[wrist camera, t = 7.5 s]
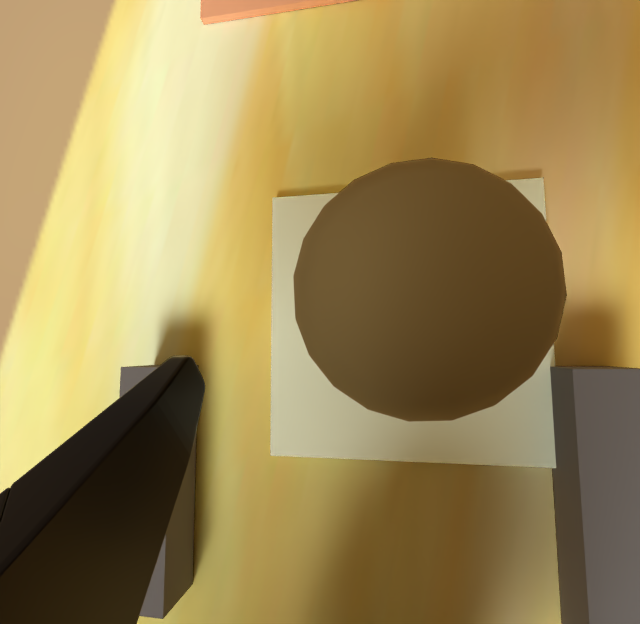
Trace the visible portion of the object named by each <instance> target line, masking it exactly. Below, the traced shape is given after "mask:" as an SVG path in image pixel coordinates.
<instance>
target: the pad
mask: <svg viewBox="0 0 640 624" xmlns="http://www.w3.org/2000/svg"><path fill="white" fill-rule="evenodd" d="M505 181H507V182H509V183H511V184H512V185H513V186H515V187H516V188H517V189H518V190H519V191H520V192H521V193H522V194H523V195H524V196H525V197H526V198H527V199H528V200H529V201H530V202H531V203H532V204H533V205H534V206H535V207H536V208H537V209H538V210H539V211H540V212H541V213H542V214H543V216H544V218H545V220H546V209H545V193H544V178H531V179H518V180H505ZM337 194H338V193H329V194H316V195H302V196H289V197H275V198H273V208H272V324H271V441H270V456H291V457H314V458H336V459H359V460H381V461H404V462H426V463H449V464H471V465H494V466H517V467H539V468H556V456H555V440H554V423H553V407H552V391H551V374H550V367H555V353H554V344H553V345H552V347H551V348H550V350H549V351H548V353H547V354H546V356H545V358H544V359H543V361H542V362H541V364H540V365H539V367H538V368H537V370H536V372H535V373H534V375H533V376H532V377H531V378H529V379H528V380H527V381H526V382H524V383H523V384H522V385H520V386H519V387H518V388H517V389H515V390H514V391H513V392H511V393H510V394H509V395H508V396H506V397H505V398H504V399H503V400H501V401H500V402H499V403H497V404H496V405H494V406H492V407H489V408H486V409H483V410H481V411H478V412H475V413H472V414H469V415H466V416H464V417H461V418H458V419H455V420H452V421H413V422H408V421H405V420H401V419H398V418H395V417H391V416H388V415H384V414H381V413H378V412H374V411H371V410H368V409H366V408H365V407H363V406H362V405H360V404H359V403H357V402H356V401H354V400H353V399H351V398H350V397H348V396H347V395H345V394H344V393H343V392H341V391H340V390H338V389H337V388H335V387H334V386H333V385H332V384H331V383H330V381H329V380H328V379H327V377H326V376H325V375H324V374H323V372H322V371H321V370H320V369H319V367H318V366H317V365H316V363H315V362H314V361H313V360H312V358H311V357H310V356H309V354H308V351H307V349H306V346H305V343H304V341H303V338H302V335H301V333H300V330H299V327H298V324H297V322H296V319H295V301H294V280H293V275H294V272H295V268H296V264H297V260H298V257H299V253H300V249H301V246H302V242H303V238H304V237H305V235H306V234H307V232H308V230H309V229H310V227H311V226H312V224H313V223H314V221H315V219H316V218H317V216H318V215H319V213H320V211H321V210H322V208H323V207H324V205H326V204H327V203H328V202H329V201H330V200H331V199H332V198H334V197H335V196H336V195H337Z"/></svg>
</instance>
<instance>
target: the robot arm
mask: <svg viewBox="0 0 640 624" xmlns="http://www.w3.org/2000/svg"><path fill="white" fill-rule="evenodd" d="M204 392H205V383H204V380H203V377H202V375H201V373H200V371H199V369H198V367H197V365H196V363H195V361H194V359H193V358H192V357H191V356H172V357H170V358H169V359H167V360H166V361H165V362H164V363H162V364H161V365H160V366H159V367H157V368H156V369H155V370H154V371H153V372H151V373H150V374H149V375H148V376H146V377H145V378H144V379H143V380H141V381H140V382H139V383H138V384H136V385H135V386H134V387H133V388H131V389H130V390H129V391H128V392H126V393H125V394H124V395H123V396H121V397H120V398H119V399H118V400H116V401H115V402H114V403H113V404H111V405H110V406H109V407H108V408H106V409H105V410H104V411H103V412H102V413H100V414H99V415H98V416H97V417H95V418H94V419H93V420H92V421H90V422H89V423H88V424H87V425H85V426H84V427H83V428H82V429H80V430H79V431H78V432H77V433H75V434H74V435H73V436H72V437H70V438H69V439H68V440H67V441H65V442H64V443H63V444H62V445H60V446H59V447H58V448H57V449H55V450H54V451H53V452H52V453H50V454H49V455H48V456H47V457H46V458H44V459H43V460H42V461H41V462H39V463H38V464H37V465H36V466H34V467H33V468H32V469H31V470H29V471H28V472H27V473H26V474H24V475H23V476H22V477H21V478H19V479H18V480H17V481H16V482H14V483H13V484H12V486H11V488H7V489H6V490H4V491H3V492H2V493H1V494H0V624H137V621H138V618H139V615H140V612H141V609H142V606H143V603H144V599H145V596H146V593H147V590H148V587H149V584H150V581H151V578H152V575H153V572H154V569H155V566H156V562H157V559H158V556H159V553H160V550H161V547H162V544H163V541H164V538H165V535H166V532H167V529H168V525H169V522H170V519H171V516H172V513H173V510H174V507H175V504H176V501H177V498H178V495H179V492H180V488H181V485H182V482H183V479H184V476H185V473H186V470H187V467H188V464H189V460H190V457H191V453H192V449H193V445H194V440H195V435H196V430H197V425H198V421H199V416H200V411H201V406H202V402H203V397H204Z"/></svg>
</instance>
